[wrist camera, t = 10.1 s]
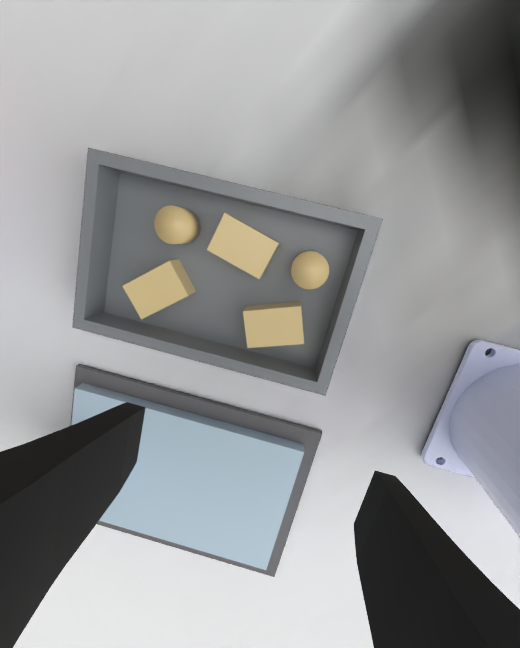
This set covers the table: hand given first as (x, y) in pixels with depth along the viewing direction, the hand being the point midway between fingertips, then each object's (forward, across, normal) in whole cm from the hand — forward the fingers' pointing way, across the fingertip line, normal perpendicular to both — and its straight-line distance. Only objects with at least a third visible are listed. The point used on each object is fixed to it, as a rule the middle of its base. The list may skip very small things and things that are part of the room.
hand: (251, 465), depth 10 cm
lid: (+10, +4, +10) cm, 14 cm away
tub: (+10, +4, -4) cm, 11 cm away
